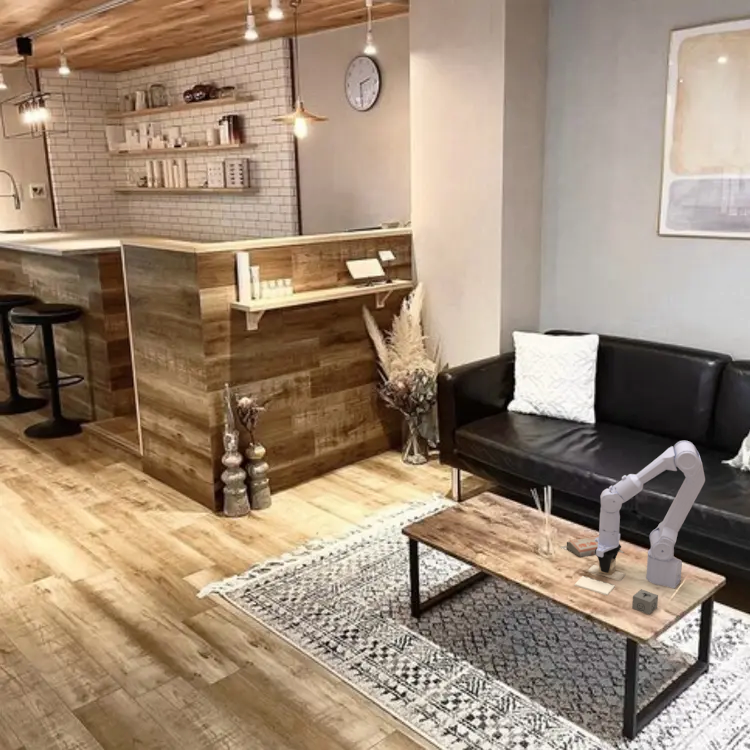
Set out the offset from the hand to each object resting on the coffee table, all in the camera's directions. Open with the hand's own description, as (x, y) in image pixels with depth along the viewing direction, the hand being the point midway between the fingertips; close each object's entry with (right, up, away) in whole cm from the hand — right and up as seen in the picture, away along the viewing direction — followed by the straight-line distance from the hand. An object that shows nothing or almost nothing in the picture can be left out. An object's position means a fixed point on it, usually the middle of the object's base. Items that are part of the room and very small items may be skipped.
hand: (607, 569), depth 235 cm
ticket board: (-3, -3, -4) cm, 6 cm away
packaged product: (0, +1, +16) cm, 16 cm away
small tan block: (0, -1, 0) cm, 1 cm away
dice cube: (+5, -7, -19) cm, 21 cm away
